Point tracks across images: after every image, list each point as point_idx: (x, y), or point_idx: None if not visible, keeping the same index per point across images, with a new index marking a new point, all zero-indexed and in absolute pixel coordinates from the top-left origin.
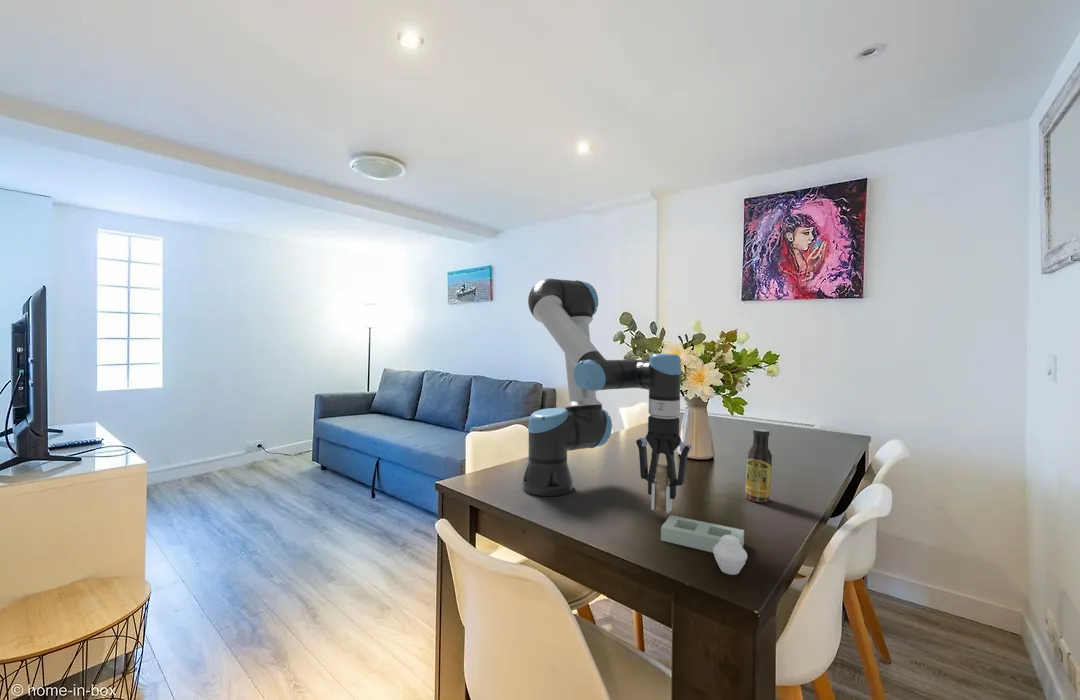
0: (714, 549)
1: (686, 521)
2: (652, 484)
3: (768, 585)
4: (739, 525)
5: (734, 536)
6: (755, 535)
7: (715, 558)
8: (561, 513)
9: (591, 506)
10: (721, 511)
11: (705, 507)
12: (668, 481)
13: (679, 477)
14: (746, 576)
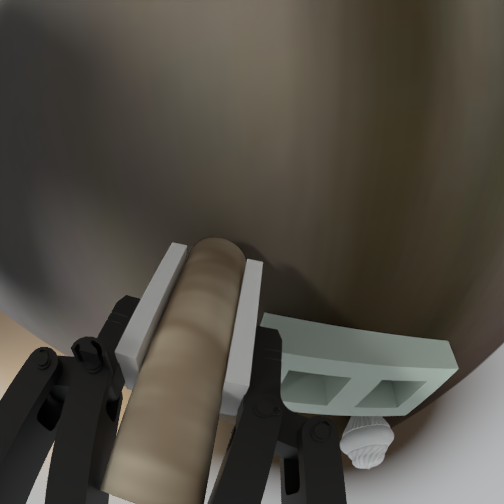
0: (341, 449)
1: (315, 373)
2: (132, 386)
3: (401, 420)
4: (501, 232)
5: (377, 464)
6: (500, 288)
7: (342, 436)
8: (6, 281)
9: (8, 217)
10: (491, 96)
11: (436, 47)
12: (218, 414)
13: (291, 484)
14: (383, 416)
